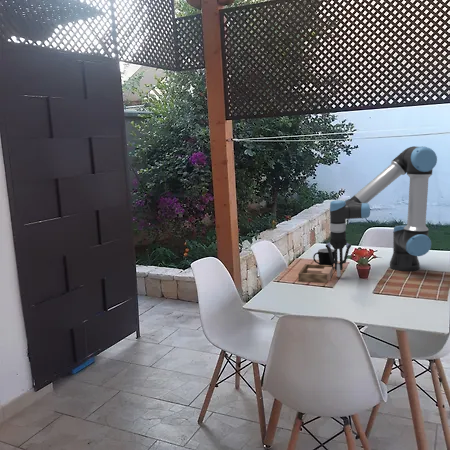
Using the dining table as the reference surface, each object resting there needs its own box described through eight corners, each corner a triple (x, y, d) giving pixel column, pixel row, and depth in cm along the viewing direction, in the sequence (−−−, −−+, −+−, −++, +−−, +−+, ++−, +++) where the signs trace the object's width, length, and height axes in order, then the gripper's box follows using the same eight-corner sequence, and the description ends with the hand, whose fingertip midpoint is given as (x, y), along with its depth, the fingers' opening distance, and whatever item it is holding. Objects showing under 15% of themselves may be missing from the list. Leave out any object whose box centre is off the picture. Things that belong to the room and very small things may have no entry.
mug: (336, 266, 261) (336, 249, 260) (332, 270, 254) (332, 252, 252) (316, 264, 267) (315, 247, 265) (311, 268, 259) (310, 251, 258)
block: (332, 274, 247) (332, 267, 246) (329, 281, 236) (329, 273, 235) (309, 273, 251) (309, 266, 251) (305, 279, 240) (305, 272, 240)
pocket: (331, 272, 250) (331, 265, 250) (326, 282, 233) (326, 275, 233) (305, 271, 255) (305, 264, 255) (298, 281, 238) (298, 273, 238)
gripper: (352, 229, 237) (352, 274, 241) (326, 229, 242) (327, 273, 246) (350, 232, 230) (351, 278, 234) (323, 232, 235) (324, 277, 239)
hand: (338, 275), depth 240 cm, fingers closed
